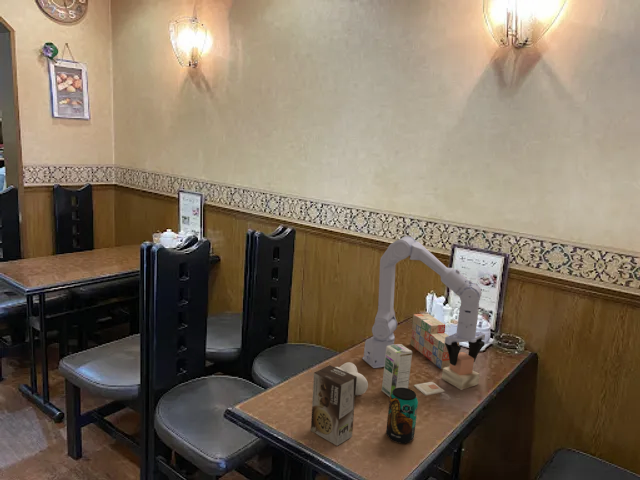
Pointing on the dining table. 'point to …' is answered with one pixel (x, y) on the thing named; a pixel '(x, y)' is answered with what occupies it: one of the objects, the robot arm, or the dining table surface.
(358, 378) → the white lobed shape
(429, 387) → the card
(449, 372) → the ash block
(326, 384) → the coffee box
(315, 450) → the dining table surface
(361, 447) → the dining table surface
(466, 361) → the terracotta cube
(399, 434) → the beverage can
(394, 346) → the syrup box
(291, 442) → the dining table surface
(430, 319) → the stack of blocks
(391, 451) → the dining table surface
